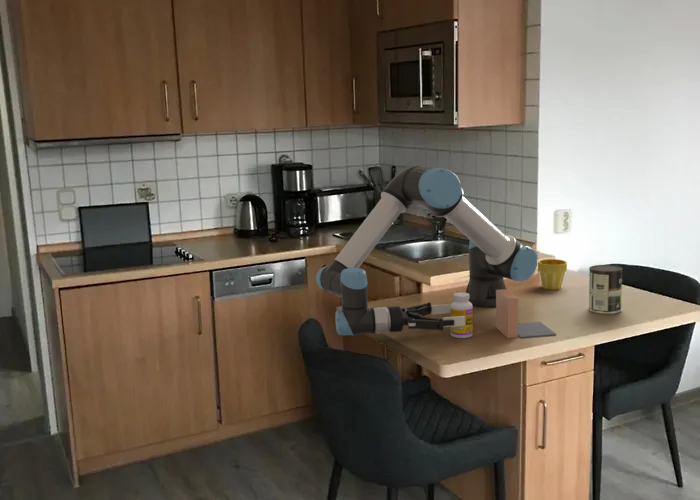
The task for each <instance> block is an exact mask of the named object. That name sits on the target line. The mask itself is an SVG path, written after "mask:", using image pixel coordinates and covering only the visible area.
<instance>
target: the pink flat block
mask: <svg viewBox="0 0 700 500" xmlns="http://www.w3.org/2000/svg"><path fill="white" fill-rule="evenodd" d="M506 289H507V288H506ZM506 289H501V290H496V306H495V328H496V329H497V330H498V331H500V332H501V334H503V335H504V336H505V337H506V338H507V339H513V338H514V339H515V338H518V337H519V336H518V323H519V322H518V321H519V298H518V297H517V296H516V295H514V294H513V293H512V292H510V291H509V290H508V289H507V290H506Z"/></svg>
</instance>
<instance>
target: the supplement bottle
mask: <svg viewBox="0 0 700 500" xmlns="http://www.w3.org/2000/svg"><path fill="white" fill-rule="evenodd" d="M452 297H453V301H452V302H451V303H450V304H451V305H450V313H449V317H456V316H465V326H453V327H449V328H450V332H449V333H450V335H451V337H453V338H456V339H467V338H470V337H472V336H473V334H474V332H473V330H474V327H473V326H474V317H473V316H474V315H473V314H474V313H473V310H474V308H473V306H474V305H472V303H471V302H469V294H468V293H465V292H461V291H460V292H459V291H458V292H454V293H453V296H452Z"/></svg>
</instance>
